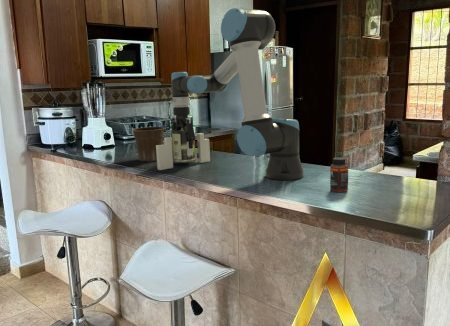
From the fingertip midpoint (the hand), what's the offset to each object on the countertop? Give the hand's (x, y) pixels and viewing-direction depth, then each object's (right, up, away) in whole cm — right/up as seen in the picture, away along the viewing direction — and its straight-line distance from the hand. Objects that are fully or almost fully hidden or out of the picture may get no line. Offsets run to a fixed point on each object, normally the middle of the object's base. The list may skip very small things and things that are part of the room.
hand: (183, 154), depth 197 cm
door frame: (0, -5, +1) cm, 5 cm away
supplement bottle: (+59, -14, -53) cm, 80 cm away
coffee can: (0, -3, +1) cm, 3 cm away
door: (-1, -3, +8) cm, 9 cm away
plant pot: (-19, -3, +19) cm, 27 cm away
